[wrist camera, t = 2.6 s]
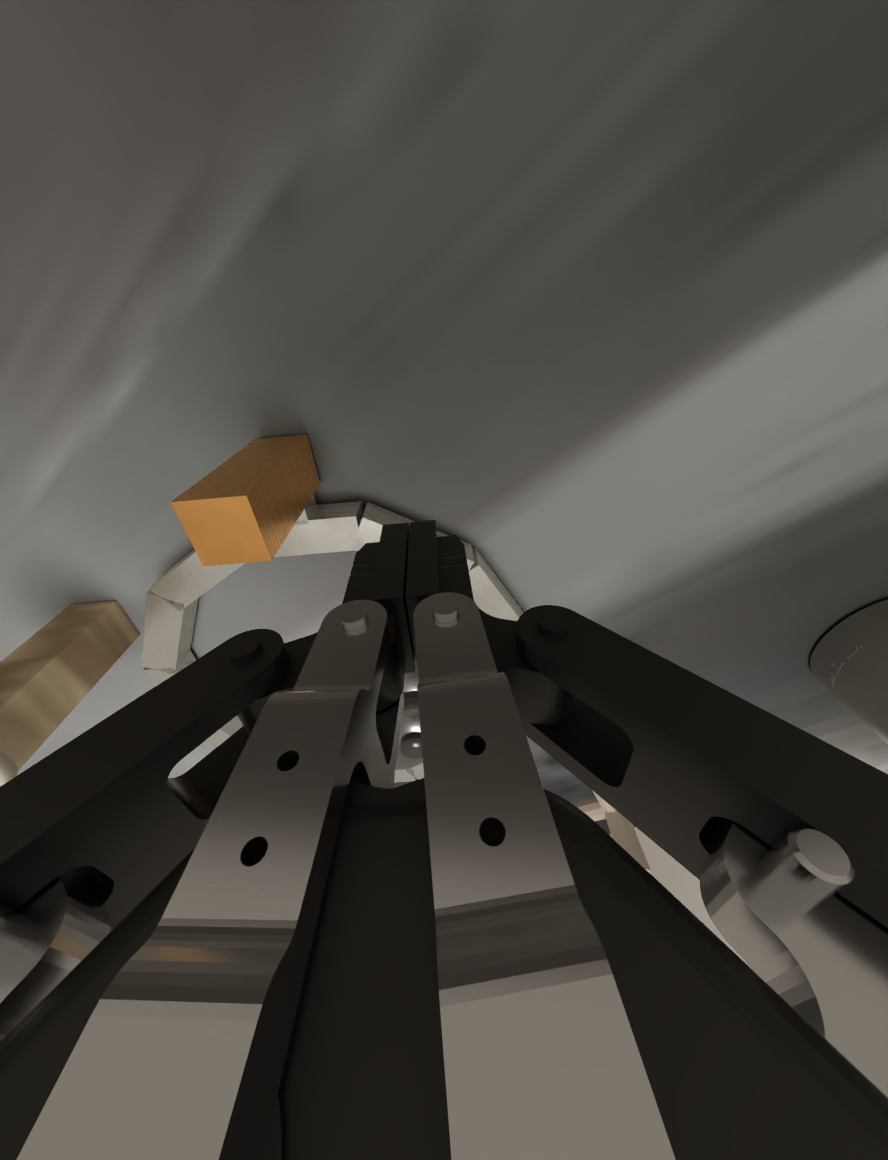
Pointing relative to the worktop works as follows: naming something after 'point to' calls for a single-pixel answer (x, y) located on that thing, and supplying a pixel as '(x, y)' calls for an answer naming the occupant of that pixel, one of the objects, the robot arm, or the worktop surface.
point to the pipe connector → (614, 825)
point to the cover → (410, 721)
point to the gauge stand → (56, 675)
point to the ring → (269, 548)
